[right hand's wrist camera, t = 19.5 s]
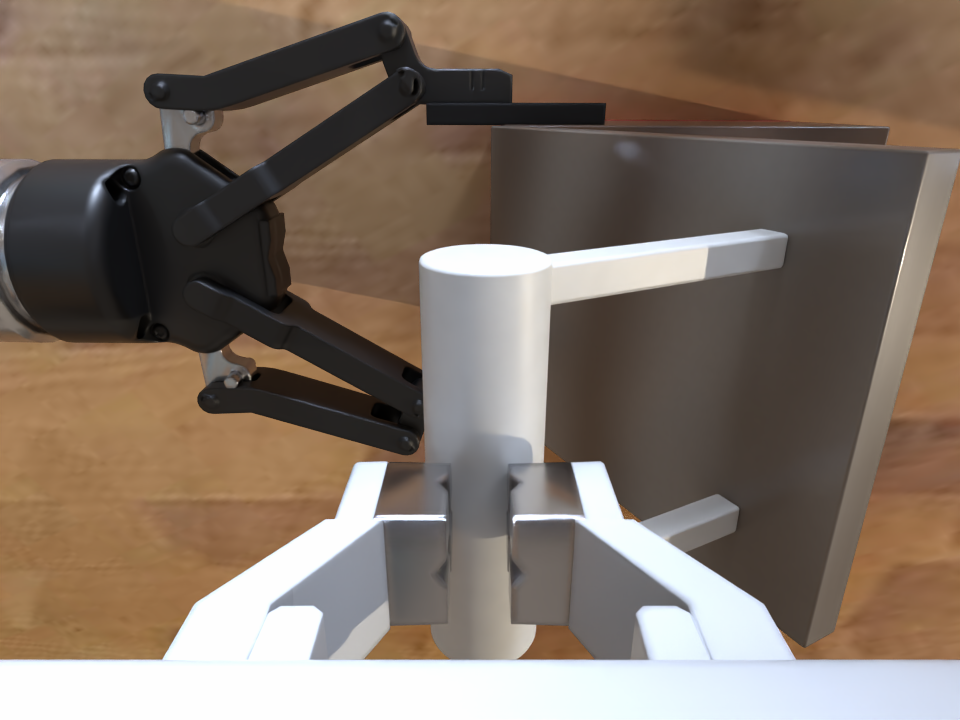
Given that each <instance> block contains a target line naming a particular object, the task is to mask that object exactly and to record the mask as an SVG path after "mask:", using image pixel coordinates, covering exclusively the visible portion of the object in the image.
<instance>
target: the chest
mask: <svg viewBox="0 0 960 720" xmlns="http://www.w3.org/2000/svg"><path fill="white" fill-rule="evenodd" d="M501 126H532V127H551V128H570V129H589V130H608V131H627V132H646V133H665V134H684V135H703V136H722V137H741V138H760V139H779V140H798V141H817V142H836V143H855V144H874V145H886V143H887V139H888V134H889V130H890V128H889V127H885V126H866V125H848V124H829V123H811V122H792V121H772V120H605V124H604V125H525V124H505V125H501Z"/></svg>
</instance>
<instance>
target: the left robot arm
mask: <svg viewBox="0 0 960 720" xmlns="http://www.w3.org/2000/svg"><path fill="white" fill-rule="evenodd" d="M381 61H383V64H384V67H385V69H386V72H387V74H388V78H387V79H385V80H384V81H382V82H381V83H380V84H378V85H377V86H375V87H374V88H372V89H371V90H369V91H368V92H366V93H365V94H363V95H362V96H360V97H359V98H357V99H356V100H354V101H353V102H351V103H350V104H349V105H347V106H346V107H344V108H343V109H341V110H340V111H338V112H337V113H335V114H334V115H332V116H331V117H329V118H328V119H326V120H325V121H323V122H322V123H320V124H319V125H317V126H316V127H315V128H313V129H312V130H310V131H309V132H307V133H306V134H304V135H303V136H301V137H300V138H298V139H297V140H295V141H294V142H292V143H291V144H289V145H288V146H286V147H285V148H283V149H282V150H281V151H279V152H278V153H276V154H275V155H273V156H272V157H270V158H269V159H267V160H266V161H264V162H262V163H261V164H259V165H257V166H255V167H253V168H251V169H250V170H248V171H247V172H245V173H244V174H242V175H241V176H239V175H237V174H236V173H234V172H233V171H231V170H230V169H229V168H227V167H226V166H224V165H223V164H221V163H220V162H218V161H217V160H215V159H214V158H213V157H211V156H210V155H208V154H207V153H205V152H204V151H202V150H200V141H201V138H202V137H203V136H204V135H205V134H207V133H209V132H213V131H216V130H218V129H219V128H220V127H221V126H222V123H223V111H228V110H238V109H244V108H247V107H251V106H254V105H257V104H260V103H263V102H266V101H269V100H272V99H274V98H277V97H280V96H283V95H286V94H289V93H292V92H295V91H297V90H300V89H303V88H306V87H309V86H312V85H315V84H318V83H320V82H323V81H326V80H329V79H332V78H335V77H338V76H341V75H343V74H346V73H349V72H352V71H355V70H358V69H361V68H364V67H366V66H369V65H372V64H375V63H378V62H381ZM144 94H145V97H146V99H147V100H148V101H149V103H150V104H152V105H153V106H154V107H156V108H160V115H161V123H162V131H163V139H164V147H165V149H164V150H162V151H160V152H159V153H157V154H156V155H154V156H153V157H151V158H149V159H143V160H108V159H53V160H48V161H44V162H42V163H41V162H38V161H35V160H32V159H0V342H36V343H43V342H55V341H58V340H63V341H66V342H74V343H157V342H172V343H176V344H179V345H182V346H185V347H187V348H189V349H191V350H193V351H195V352H198V353H199V356H200V360H201V365H202V370H203V374H204V379H205V383H206V387H205V388H204V389H203V390H202V391H201V392H200V393H199V395H198V397H197V398H198V404H199V406H200V407H201V408H202V409H203V410H204V411H206V412H207V413H212V414H222V413H255V414H258V415H262V416H266V417H269V418H273V419H276V420H280V421H283V422H287V423H291V424H294V425H298V426H301V427H305V428H308V429H312V430H316V431H319V432H323V433H326V434H330V435H333V436H337V437H341V438H344V439H348V440H351V441H355V442H358V443H362V444H365V445H369V446H373V447H376V448H380V449H383V450H387V451H390V452H394V453H398V454H401V455H411V454H413V453H415V452H416V451H417V449H418V448H419V443H420V440H421V437H422V435H423V432H424V407H423V376H422V370H421V369H419V368H417V367H416V366H414V365H412V364H410V363H408V362H407V361H405V360H403V359H401V358H399V357H398V356H396V355H394V354H392V353H390V352H389V351H387V350H385V349H383V348H381V347H380V346H378V345H376V344H374V343H372V342H371V341H369V340H367V339H365V338H363V337H362V336H360V335H358V334H356V333H354V332H353V331H351V330H349V329H347V328H345V327H344V326H342V325H340V324H338V323H336V322H335V321H333V320H331V319H329V318H327V317H326V316H324V315H322V314H320V313H318V312H317V311H315V310H313V309H312V308H311V306H310V304H309V303H308V302H307V301H305V300H303V299H302V298H300V297H298V296H296V295H295V294H293V293H291V292H289V291H287V287H289V286H290V285H291V277H290V267H289V265H288V262H287V259H286V257H285V254H284V251H283V244H284V238H285V221H284V213H279V211H278V209H277V207H276V205H275V204H274V202H273V201H275V200H277V199H278V198H280V197H281V196H283V195H284V194H286V193H287V192H289V191H290V190H292V189H293V188H295V187H296V186H297V185H299V184H300V183H301V182H303V181H304V180H306V179H307V178H309V177H310V176H312V175H313V174H315V173H316V172H318V171H319V170H321V169H322V168H324V167H325V166H327V165H328V164H330V163H331V162H333V161H334V160H336V159H337V158H339V157H341V156H342V155H344V154H345V153H347V152H348V151H350V150H351V149H353V148H354V147H356V146H357V145H359V144H360V143H362V142H363V141H365V140H366V139H368V138H369V137H371V136H372V135H374V134H375V133H377V132H378V131H380V130H382V129H383V128H385V127H386V126H388V125H389V124H391V123H392V122H394V121H395V120H397V119H398V118H400V117H401V116H403V115H404V114H406V113H407V112H409V111H410V110H412V109H413V108H415V107H416V106H418V105H419V104H426V110H427V125H505V124H525V125H604V124H605V110H606V103H512V75H511V74H509V73H507V72H505V71H502V70H500V69H433V68H429V67H426V66H425V65H424V64H423V63H422V62H421V60H420V58H419V56H418V53H417V50H416V48H415V45H414V42H413V39H412V35H411V31H410V29H409V28H408V26H407V25H406V24H405V23H404V22H403V21H402V20H401V19H400V18H399V17H397V16H396V15H395V14H393V13H390V12H382V13H379V14H376V15H373V16H370V17H368V18H365V19H362V20H359V21H356V22H354V23H351V24H348V25H345V26H342V27H340V28H337V29H334V30H331V31H328V32H326V33H323V34H320V35H317V36H314V37H312V38H309V39H306V40H303V41H300V42H298V43H295V44H292V45H289V46H286V47H284V48H281V49H278V50H275V51H272V52H270V53H267V54H264V55H261V56H258V57H256V58H253V59H250V60H247V61H244V62H242V63H239V64H236V65H233V66H231V67H228V68H225V69H222V70H219V71H217V72H214V73H211V74H208V75H205V76H194V75H176V74H152V75H150V76H149V77H148V78H147V79H146V81H145V83H144ZM243 333H245V334H246V335H248V336H250V337H252V338H254V339H256V340H258V341H259V342H261V343H263V344H265V345H267V346H269V347H271V348H274V349H285V350H288V351H290V352H291V353H293V354H295V355H297V356H299V357H301V358H303V359H304V360H306V361H308V362H310V363H312V364H314V365H316V366H317V367H319V368H321V369H323V370H325V371H327V372H329V373H330V374H332V375H334V376H336V377H338V378H340V379H342V380H343V381H345V382H347V383H349V384H351V385H353V386H355V387H356V388H358V389H360V390H362V391H364V392H366V393H368V394H369V395H367V394H363V393H360V392H356V391H353V390H349V389H346V388H342V387H339V386H335V385H332V384H328V383H325V382H322V381H318V380H315V379H311V378H308V377H304V376H301V375H297V374H294V373H290V372H287V371H283V370H279V369H275V368H267V367H256V363H255V361H254V360H253V359H252V358H246V357H241V356H238V355H236V354H235V353H234V352H232V350H231V349H230V347H229V343H231V342H232V341H233V340H235V339H236V338H237V337H239V336H240V335H241V334H243ZM370 395H371V396H370Z"/></svg>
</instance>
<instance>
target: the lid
mask: <svg viewBox="0 0 960 720" xmlns="http://www.w3.org/2000/svg"><path fill="white" fill-rule="evenodd" d="M959 162H960V149H950V148H931V147H912V146H893V145H874V144H855V143H836V142H817V141H798V140H779V139H760V138H741V137H722V136H703V135H684V134H665V133H646V132H627V131H608V130H589V129H570V128H551V127H532V126H492V128H491V234H490V244H471V245H458V246H450V247H444V248H439V249H436V250H433V251H430V252H427V253H425V254H424V255H422V256H421V258H420V260H419V285H420V315H421V346H422V376H423V407H424V437H425V463H451V472H452V497H451V511H452V512H453V545H452V571H451V572H450V602H449V616H448V624H431V634H432V637H433V640H434V642H435V644H436V645H437V647H438V648H439V649H440V651H441V652H442V653H443V654H444V655H446V656H447V657H448V658H450V659H451V660H516V659H518V658H519V657H521V656H522V655H523V654H524V653H525V652H526V651H527V650H528V648H529V647H530V645H531V644H532V642H533V640H534V637H535V633H536V625H526V624H511V618H510V604H509V572H508V571H507V552H506V512H507V510H508V499H507V468H508V464H515V463H544V445H545V446H546V447H548V448H549V449H550V450H552V451H553V452H554V453H555V454H557V455H558V456H559V457H560V458H562V459H563V460H564V461H566V462H594V461H601V462H602V463H604V465H605V468H606V470H607V473H608V476H609V479H610V482H611V484H612V487H613V490H614V493H615V495H616V498H617V501H618V503H619V504H621V505H622V506H623V507H624V508H626V509H627V510H628V511H629V512H631V513H632V514H633V515H635V516H636V517H637V518H638V519H640V520H641V521H642V522H639V524H641V525H643V526H644V527H646V528H647V529H649V530H650V531H652V532H653V533H655V534H656V535H658V536H660V537H661V538H663V539H664V540H666V541H667V542H669V543H670V544H672V545H673V546H675V547H677V548H678V549H680V550H681V551H683V552H684V553H686V554H687V555H689V556H690V557H692V558H694V559H695V560H697V561H698V562H700V563H701V564H703V565H704V566H706V567H707V568H709V569H711V570H712V571H714V572H715V573H717V574H718V575H720V576H721V577H723V578H724V579H726V580H727V581H729V582H731V583H732V584H734V585H735V586H737V587H738V588H740V589H741V590H743V591H744V592H746V593H748V594H749V595H751V596H752V597H754V598H755V599H757V600H758V601H760V602H761V603H763V604H764V605H765V607H766V608H767V610H768V612H769V614H770V615H771V617H772V619H773V621H774V622H775V624H776V626H777V627H778V628H779V629H780V630H782V631H783V632H784V633H785V634H787V635H788V636H789V637H791V638H792V639H793V640H794V641H796V642H797V643H798V644H799V645H801V646H802V647H804V648H805V647H807V646H809V645H811V644H813V643H814V642H816V641H818V640H820V639H821V638H823V637H825V636H827V635H829V634H830V633H832V632H834V630H835V626H836V622H837V618H838V615H839V611H840V607H841V603H842V600H843V596H844V592H845V588H846V585H847V581H848V577H849V573H850V570H851V566H852V562H853V558H854V555H855V551H856V547H857V543H858V540H859V536H860V532H861V529H862V525H863V521H864V517H865V514H866V510H867V506H868V502H869V499H870V495H871V491H872V487H873V484H874V480H875V476H876V472H877V469H878V465H879V461H880V457H881V454H882V450H883V446H884V442H885V439H886V435H887V431H888V428H889V424H890V420H891V416H892V413H893V409H894V405H895V401H896V398H897V394H898V390H899V386H900V383H901V379H902V375H903V371H904V368H905V364H906V360H907V356H908V353H909V349H910V345H911V341H912V338H913V334H914V330H915V327H916V323H917V319H918V315H919V312H920V308H921V304H922V300H923V297H924V293H925V289H926V285H927V282H928V278H929V274H930V270H931V267H932V263H933V259H934V255H935V252H936V248H937V244H938V240H939V237H940V233H941V229H942V226H943V222H944V218H945V214H946V211H947V207H948V203H949V199H950V196H951V192H952V188H953V184H954V181H955V177H956V173H957V169H958V166H959Z"/></svg>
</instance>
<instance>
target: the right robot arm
mask: <svg viewBox="0 0 960 720" xmlns="http://www.w3.org/2000/svg"><path fill="white" fill-rule="evenodd" d="M451 497H452V472H451V463H416V462H389V463H388V462H387V461H382V462H357V463H356V464H355V465H354V466H353V469H352V472H351V475H350V478H349V480H348V483H347V486H346V489H345V492H344V494H343V497H342V500H341V503H340V506H339V508H338V511H337V514H336V517H335V519H325V520H324V521H322V522H321V523H319V524H318V525H316V526H314V527H313V528H311V529H310V530H308V531H307V532H305V533H304V534H302V535H300V536H299V537H297V538H296V539H294V540H293V541H291V542H290V543H288V544H286V545H285V546H283V547H282V548H280V549H279V550H277V551H276V552H274V553H273V554H271V555H269V556H268V557H266V558H265V559H263V560H262V561H260V562H259V563H257V564H255V565H254V566H252V567H251V568H249V569H248V570H246V571H245V572H243V573H241V574H240V575H238V576H237V577H235V578H234V579H232V580H231V581H229V582H227V583H226V584H224V585H223V586H221V587H220V588H218V589H217V590H215V591H213V592H212V593H210V594H209V595H207V596H206V597H204V598H203V599H201V600H199V601H198V602H196V603H195V604H194V606H193V608H192V610H191V611H190V613H189V615H188V616H187V618H186V620H185V622H184V623H183V625H182V627H181V628H180V630H179V632H178V634H177V635H176V637H175V639H174V640H173V642H172V644H171V646H170V647H169V649H168V651H167V652H166V654H165V656H164V658H163V659H162V660H0V720H960V660H796V659H795V657H794V656H793V654H792V652H791V650H790V649H789V647H788V645H787V643H786V642H785V640H784V638H783V636H782V635H781V633H780V631H779V629H778V628H777V626H776V624H775V622H774V621H773V619H772V617H771V615H770V614H769V612H768V610H767V608H766V607H765V605H764V604H763V603H761V602H760V601H758V600H757V599H755V598H754V597H752V596H751V595H749V594H748V593H746V592H744V591H743V590H741V589H740V588H738V587H737V586H735V585H734V584H732V583H731V582H729V581H727V580H726V579H724V578H723V577H721V576H720V575H718V574H717V573H715V572H714V571H712V570H711V569H709V568H707V567H706V566H704V565H703V564H701V563H700V562H698V561H697V560H695V559H694V558H692V557H690V556H689V555H687V554H686V553H684V552H683V551H681V550H680V549H678V548H677V547H675V546H673V545H672V544H670V543H669V542H667V541H666V540H664V539H663V538H661V537H660V536H658V535H656V534H655V533H653V532H652V531H650V530H649V529H647V528H646V527H644V526H643V525H641V524H639V523H638V522H636V521H635V520H633V519H624V518H623V515H622V512H621V509H620V507H619V504H618V501H617V498H616V495H615V493H614V490H613V487H612V484H611V482H610V479H609V476H608V473H607V470H606V468H605V465H604V463H602V462H601V461H594V462H557V463H515V464H508V468H507V499H508V510H507V512H506V552H507V571H508V572H509V604H510V618H511V624H526V625H562V626H569V629H570V630H571V632H572V633H573V634H574V635H575V636H576V638H577V639H578V640H579V641H580V642H581V643H582V645H583V646H584V647H585V648H586V649H587V650H588V652H589V653H590V654H591V655H592V656H593V657H594V659H595V660H364V659H365V657H366V656H367V655H368V654H369V653H370V652H371V651H372V649H373V648H374V647H375V646H376V645H377V644H378V642H379V641H380V640H381V639H382V638H383V637H384V635H385V634H386V633H387V632H388V631H389V630H390V626H396V625H431V624H448V616H449V602H450V572H451V571H452V545H453V512H452V511H451Z"/></svg>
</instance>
